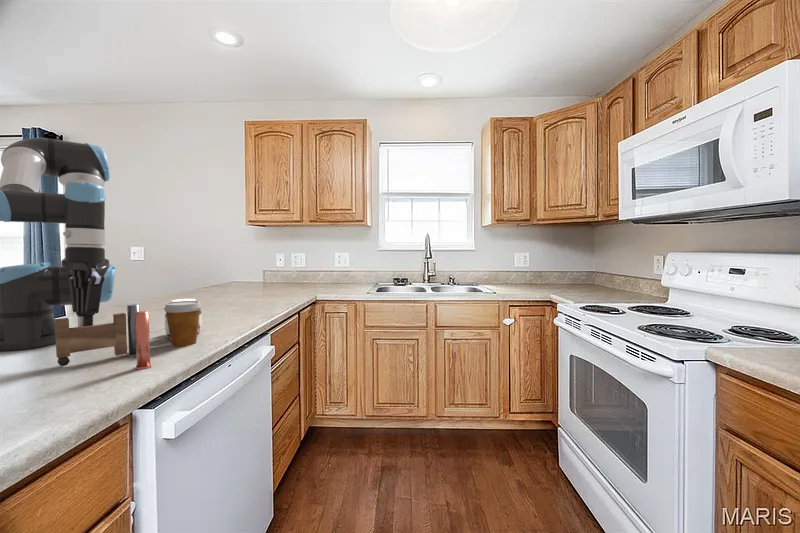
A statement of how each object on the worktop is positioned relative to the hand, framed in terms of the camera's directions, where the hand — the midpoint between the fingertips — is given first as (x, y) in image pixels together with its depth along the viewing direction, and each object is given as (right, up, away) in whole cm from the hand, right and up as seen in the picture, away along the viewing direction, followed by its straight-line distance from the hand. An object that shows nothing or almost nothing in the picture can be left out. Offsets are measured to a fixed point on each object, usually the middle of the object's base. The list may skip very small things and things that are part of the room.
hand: (85, 341), depth 94 cm
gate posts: (+13, -5, 0) cm, 14 cm away
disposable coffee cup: (+15, -4, +17) cm, 23 cm away
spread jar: (+8, -4, +27) cm, 28 cm away
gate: (+3, -4, -1) cm, 5 cm away
